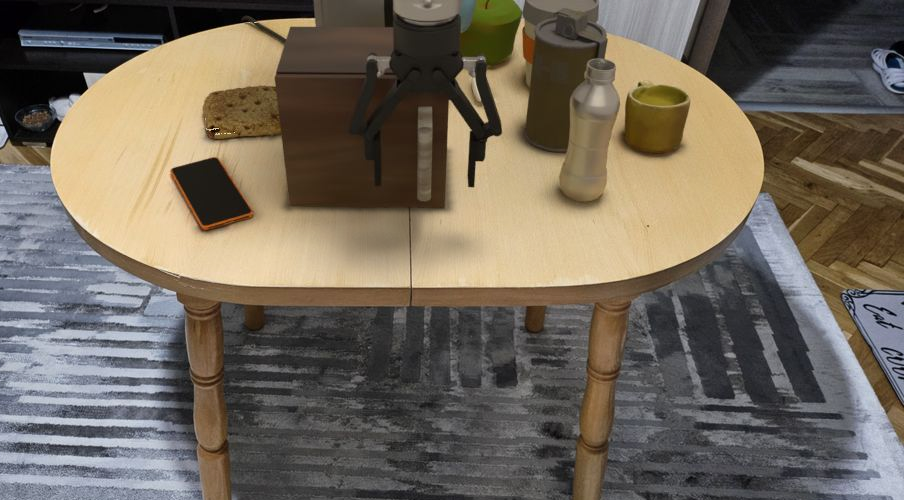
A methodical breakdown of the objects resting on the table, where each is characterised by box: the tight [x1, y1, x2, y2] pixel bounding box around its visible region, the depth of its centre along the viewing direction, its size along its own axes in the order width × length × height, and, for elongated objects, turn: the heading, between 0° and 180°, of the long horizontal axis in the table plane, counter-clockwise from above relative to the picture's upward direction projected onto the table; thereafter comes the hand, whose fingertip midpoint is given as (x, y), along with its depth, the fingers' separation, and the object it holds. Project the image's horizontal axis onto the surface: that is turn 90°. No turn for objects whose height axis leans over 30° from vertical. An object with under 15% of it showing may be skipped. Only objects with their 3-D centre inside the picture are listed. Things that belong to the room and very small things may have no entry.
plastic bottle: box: [558, 58, 621, 202], centre depth 110 cm, size 6×7×20 cm
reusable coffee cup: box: [521, 0, 600, 88], centre depth 138 cm, size 13×13×15 cm
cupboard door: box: [274, 73, 450, 208], centre depth 105 cm, size 8×22×20 cm, turn 89°
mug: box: [624, 79, 691, 154], centre depth 126 cm, size 12×10×10 cm
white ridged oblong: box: [471, 77, 492, 103], centre depth 138 cm, size 3×8×3 cm, turn 4°
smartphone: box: [169, 156, 254, 231], centre depth 116 cm, size 8×17×1 cm, turn 28°
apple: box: [460, 0, 523, 66], centre depth 147 cm, size 12×12×11 cm
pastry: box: [202, 85, 281, 140], centre depth 133 cm, size 17×17×3 cm
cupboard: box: [275, 26, 395, 75], centre depth 114 cm, size 14×22×20 cm, turn 89°
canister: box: [523, 8, 609, 153], centre depth 122 cm, size 11×10×20 cm
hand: (424, 180), depth 103 cm, fingers open, 11 cm apart
